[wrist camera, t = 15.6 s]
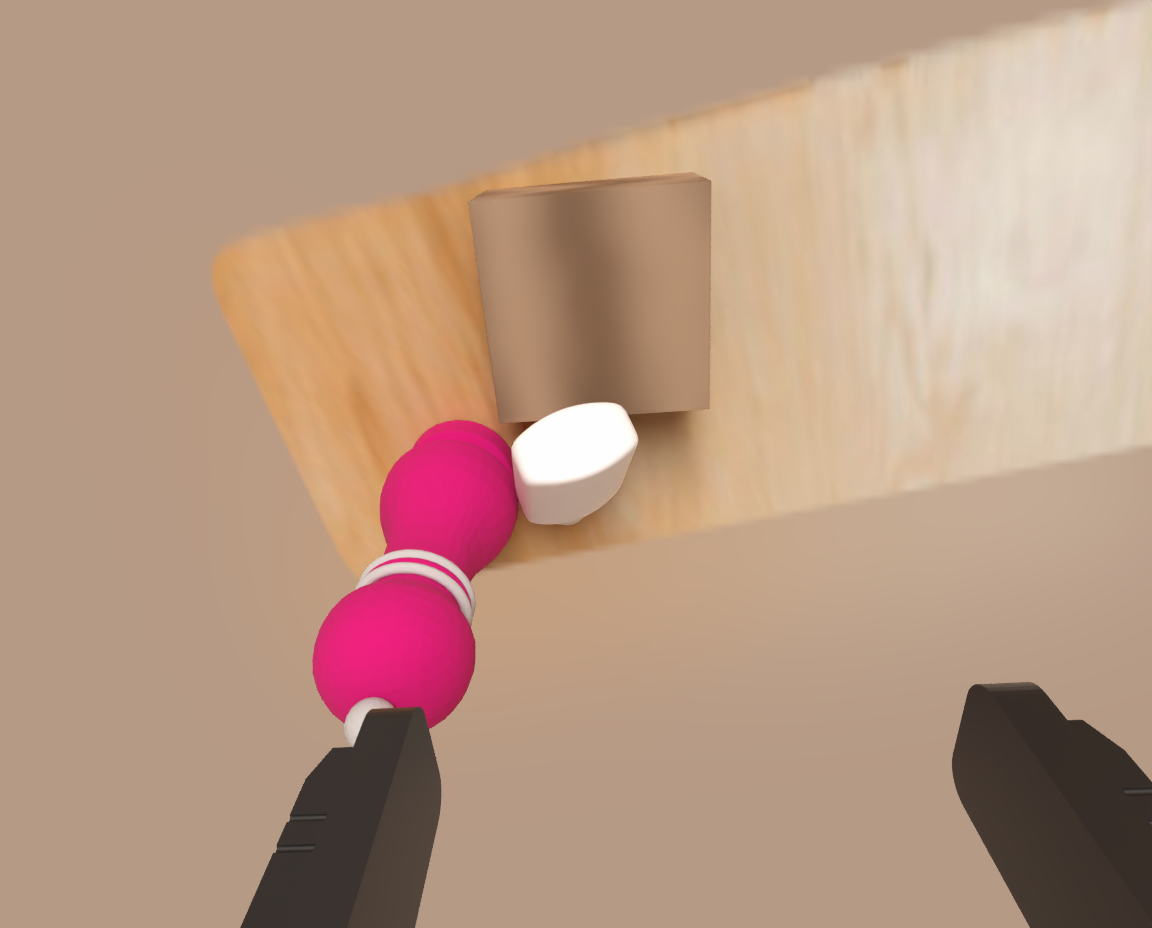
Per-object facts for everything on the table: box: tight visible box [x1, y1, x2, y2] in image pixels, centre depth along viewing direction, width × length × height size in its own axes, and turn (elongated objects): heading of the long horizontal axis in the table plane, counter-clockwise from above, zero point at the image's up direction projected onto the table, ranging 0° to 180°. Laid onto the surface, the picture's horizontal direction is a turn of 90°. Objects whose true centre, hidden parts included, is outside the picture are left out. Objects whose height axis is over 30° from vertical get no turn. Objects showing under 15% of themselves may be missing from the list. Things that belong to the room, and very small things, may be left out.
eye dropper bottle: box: [511, 402, 639, 526], centre depth 35 cm, size 4×6×12 cm
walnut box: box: [468, 172, 711, 423], centre depth 33 cm, size 10×10×6 cm
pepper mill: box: [313, 420, 518, 747], centre depth 31 cm, size 7×7×20 cm
